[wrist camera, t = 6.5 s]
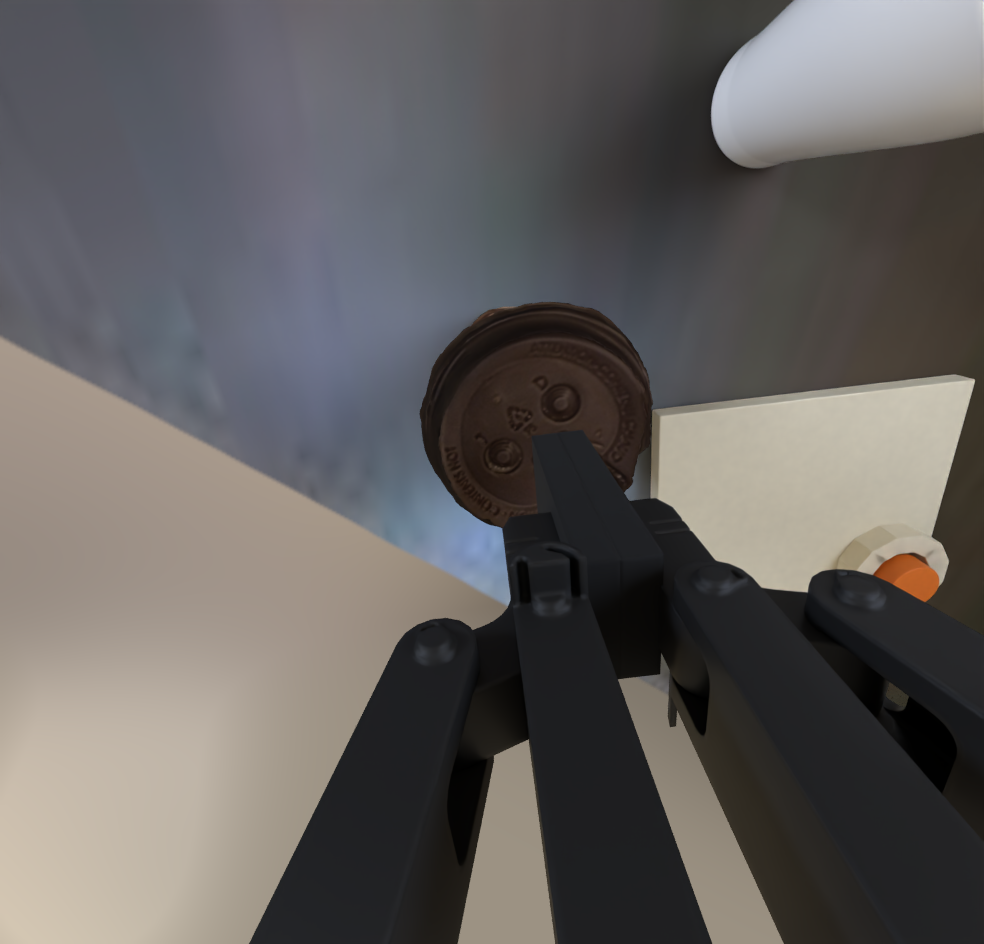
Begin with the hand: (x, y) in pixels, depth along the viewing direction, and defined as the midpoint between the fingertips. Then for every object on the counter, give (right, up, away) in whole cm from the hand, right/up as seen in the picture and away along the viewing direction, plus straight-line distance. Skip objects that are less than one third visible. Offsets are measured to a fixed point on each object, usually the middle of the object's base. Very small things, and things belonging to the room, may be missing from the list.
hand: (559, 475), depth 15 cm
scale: (+17, -2, +18) cm, 25 cm away
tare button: (+24, -6, +17) cm, 30 cm away
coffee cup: (-1, +6, +14) cm, 15 cm away
